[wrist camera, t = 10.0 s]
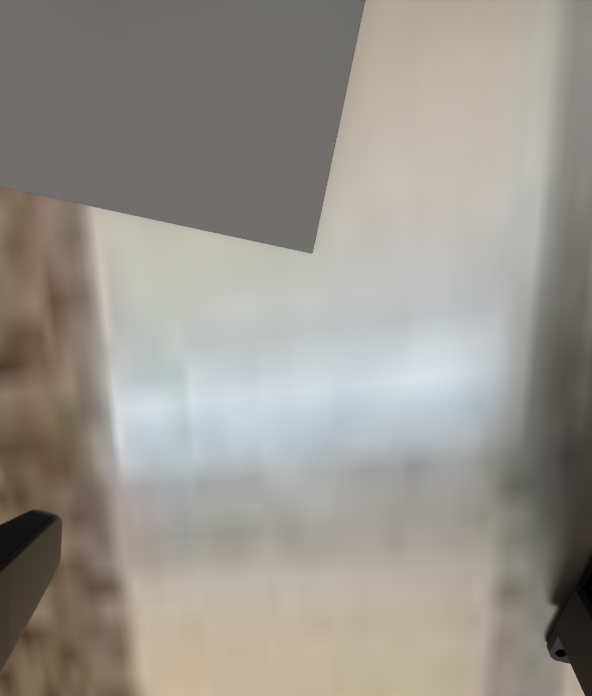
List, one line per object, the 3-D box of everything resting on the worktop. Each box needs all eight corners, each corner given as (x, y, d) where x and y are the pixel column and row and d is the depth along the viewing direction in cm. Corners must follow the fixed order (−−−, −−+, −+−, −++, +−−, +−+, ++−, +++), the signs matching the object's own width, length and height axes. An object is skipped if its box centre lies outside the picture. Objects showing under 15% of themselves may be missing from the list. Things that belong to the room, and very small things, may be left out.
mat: (379, -68, 15) (379, -74, 15) (312, 252, 19) (312, 253, 18) (-26, -148, 16) (-35, -155, 15) (-17, 181, 19) (-25, 181, 19)
